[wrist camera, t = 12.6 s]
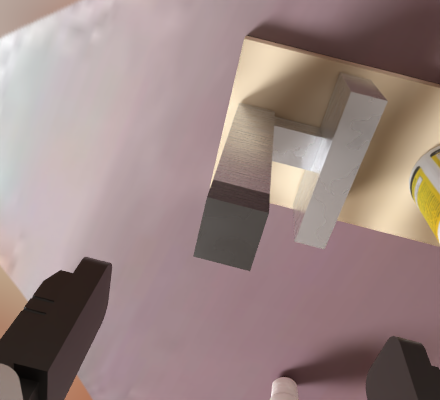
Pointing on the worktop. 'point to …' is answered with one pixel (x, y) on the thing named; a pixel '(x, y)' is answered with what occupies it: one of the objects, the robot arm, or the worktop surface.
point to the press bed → (313, 115)
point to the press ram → (293, 156)
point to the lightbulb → (284, 389)
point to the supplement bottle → (427, 188)
